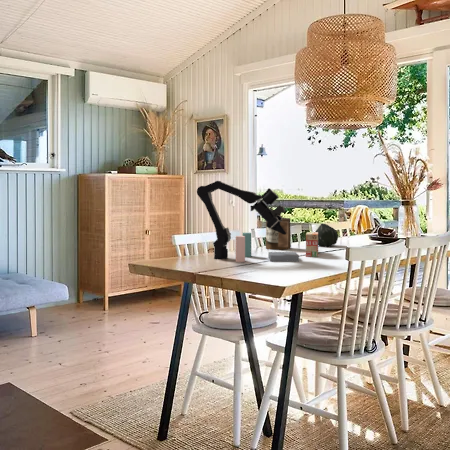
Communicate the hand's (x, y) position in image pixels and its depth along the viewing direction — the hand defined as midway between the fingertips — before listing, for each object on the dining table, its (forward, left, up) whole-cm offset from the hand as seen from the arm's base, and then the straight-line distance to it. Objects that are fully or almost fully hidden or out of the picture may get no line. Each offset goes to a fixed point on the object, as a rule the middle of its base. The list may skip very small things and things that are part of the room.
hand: (286, 233), depth 275 cm
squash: (+32, +65, -14) cm, 74 cm away
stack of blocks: (+17, +23, -14) cm, 32 cm away
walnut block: (-1, 0, -7) cm, 7 cm away
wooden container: (+1, +52, -14) cm, 54 cm away
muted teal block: (-19, +15, -13) cm, 28 cm away
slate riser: (-1, +2, -13) cm, 14 cm away
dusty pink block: (-23, -5, -13) cm, 27 cm away
